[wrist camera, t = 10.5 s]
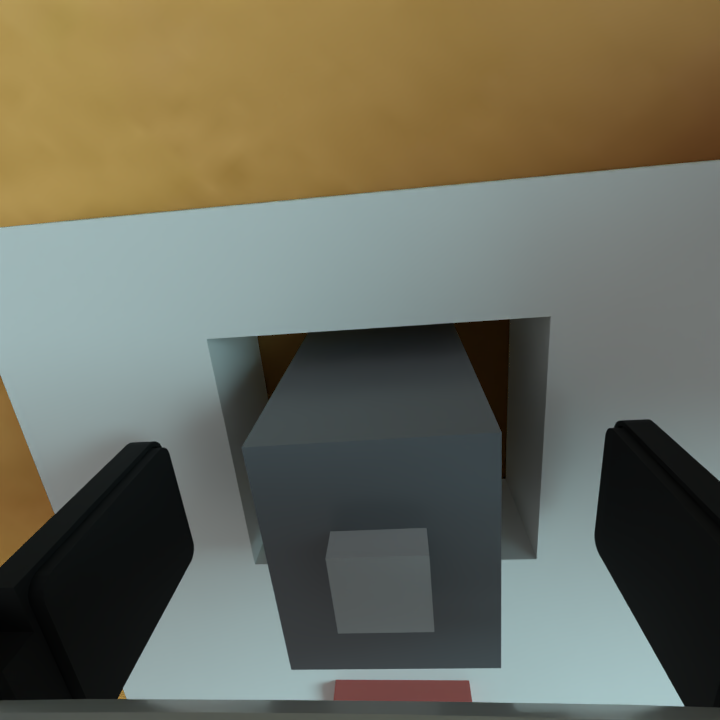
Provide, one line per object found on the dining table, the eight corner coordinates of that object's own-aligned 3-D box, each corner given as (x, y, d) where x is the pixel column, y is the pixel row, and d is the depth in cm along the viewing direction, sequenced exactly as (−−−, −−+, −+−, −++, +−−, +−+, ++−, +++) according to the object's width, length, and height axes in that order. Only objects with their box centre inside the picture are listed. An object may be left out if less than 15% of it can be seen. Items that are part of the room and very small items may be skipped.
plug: (454, 459, 15) (508, 702, 8) (334, 466, 15) (284, 702, 8) (448, 311, 13) (511, 454, 6) (313, 323, 14) (228, 469, 7)
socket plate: (639, 665, 18) (708, 797, 14) (192, 664, 19) (142, 782, 16) (729, 158, 11) (898, 144, 8) (56, 221, 13) (-82, 235, 9)
